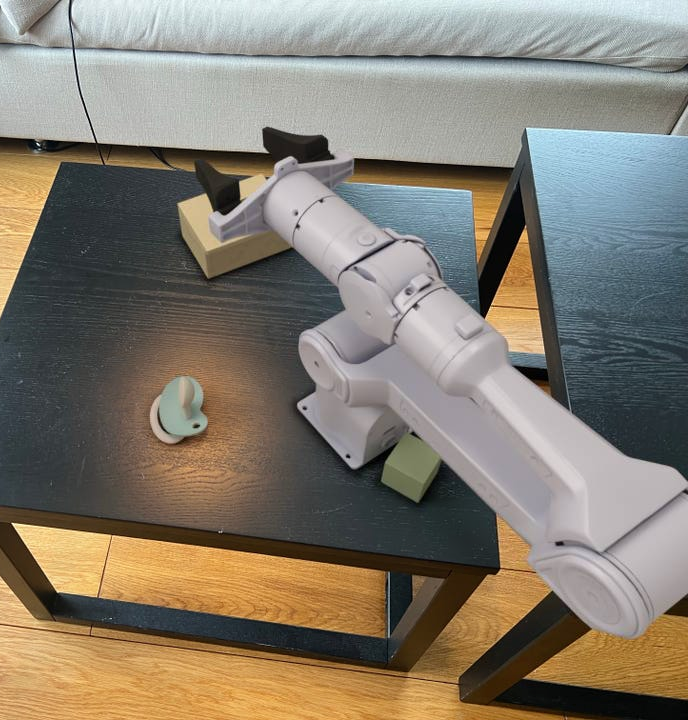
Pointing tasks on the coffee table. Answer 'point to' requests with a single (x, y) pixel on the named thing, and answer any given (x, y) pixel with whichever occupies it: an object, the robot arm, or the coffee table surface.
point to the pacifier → (178, 410)
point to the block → (411, 467)
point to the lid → (201, 208)
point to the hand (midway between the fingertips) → (232, 152)
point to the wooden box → (232, 251)
